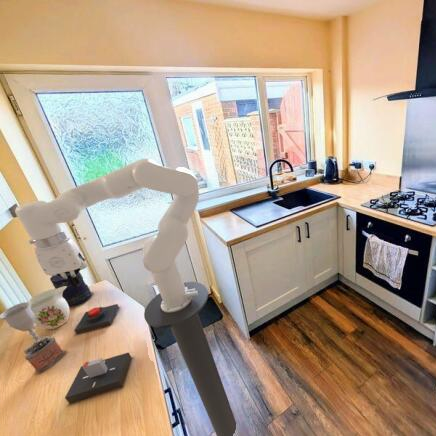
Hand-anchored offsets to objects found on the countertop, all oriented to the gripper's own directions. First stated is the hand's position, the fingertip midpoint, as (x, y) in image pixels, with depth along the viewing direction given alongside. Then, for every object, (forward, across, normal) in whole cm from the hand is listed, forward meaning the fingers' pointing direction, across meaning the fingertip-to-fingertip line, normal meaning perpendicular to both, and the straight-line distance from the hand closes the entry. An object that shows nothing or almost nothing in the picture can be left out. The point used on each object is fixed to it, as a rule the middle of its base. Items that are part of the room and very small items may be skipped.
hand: (77, 284), depth 86 cm
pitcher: (+23, -23, +13) cm, 35 cm away
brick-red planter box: (+23, -14, -8) cm, 28 cm away
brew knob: (+20, +7, -22) cm, 31 cm away
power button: (+19, -5, +8) cm, 22 cm away
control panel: (+23, +7, -22) cm, 33 cm away
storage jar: (+23, -20, +27) cm, 41 cm away
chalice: (+23, -22, +2) cm, 32 cm away
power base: (+23, -5, +8) cm, 25 cm away
